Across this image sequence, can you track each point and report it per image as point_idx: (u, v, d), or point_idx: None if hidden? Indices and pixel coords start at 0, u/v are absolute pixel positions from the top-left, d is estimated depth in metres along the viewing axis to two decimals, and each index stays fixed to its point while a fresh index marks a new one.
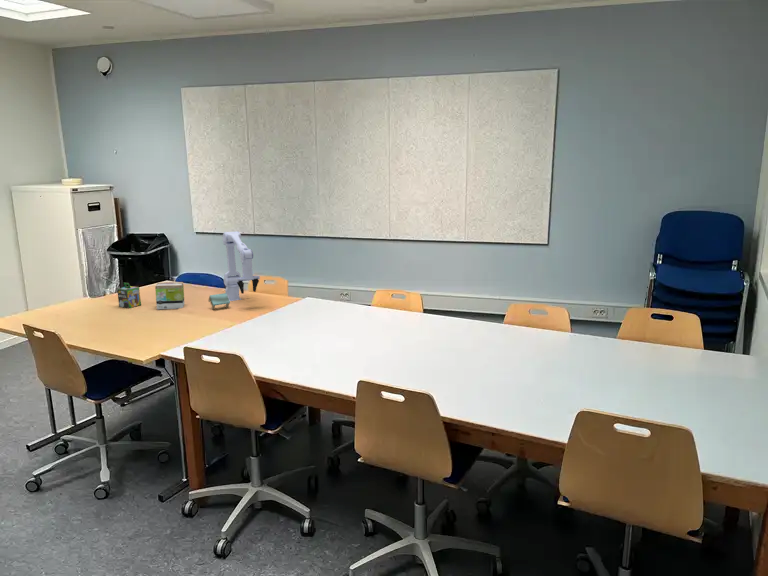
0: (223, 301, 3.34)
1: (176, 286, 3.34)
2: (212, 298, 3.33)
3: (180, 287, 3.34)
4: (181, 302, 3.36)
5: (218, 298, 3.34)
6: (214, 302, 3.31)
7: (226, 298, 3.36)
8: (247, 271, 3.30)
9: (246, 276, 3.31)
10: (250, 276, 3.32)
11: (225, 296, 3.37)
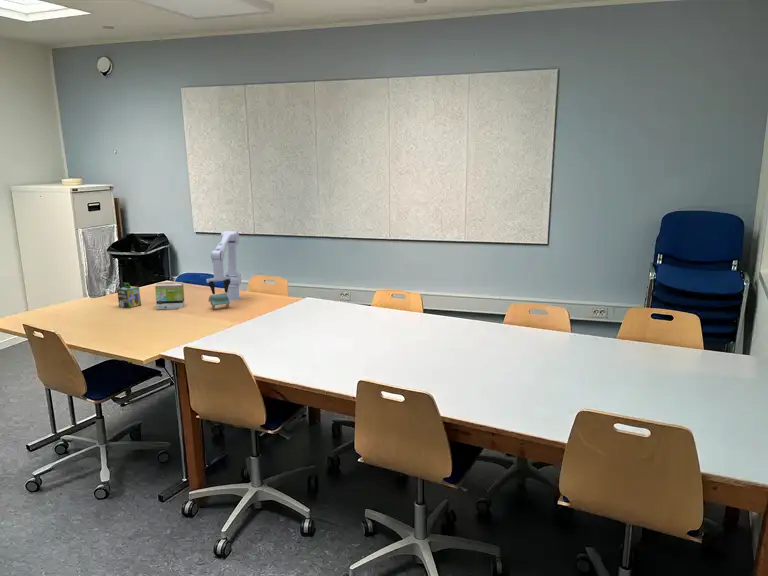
0: (223, 301, 3.34)
1: (176, 286, 3.34)
2: (212, 298, 3.33)
3: (180, 287, 3.34)
4: (181, 302, 3.36)
5: (218, 298, 3.34)
6: (214, 302, 3.31)
7: (226, 298, 3.36)
8: (218, 272, 3.29)
9: (217, 277, 3.29)
10: (221, 277, 3.30)
11: (225, 296, 3.37)
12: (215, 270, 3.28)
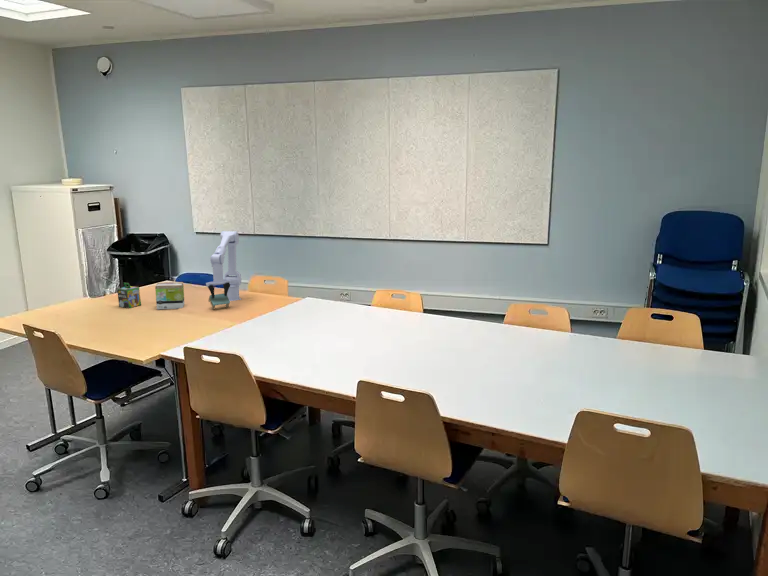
0: (223, 301, 3.34)
1: (176, 286, 3.34)
2: (212, 298, 3.33)
3: (180, 287, 3.34)
4: (181, 302, 3.36)
5: (218, 298, 3.34)
6: (214, 302, 3.31)
7: (226, 298, 3.36)
8: (218, 275, 3.29)
9: (217, 280, 3.30)
10: (221, 280, 3.31)
11: (225, 296, 3.37)
12: (215, 274, 3.29)
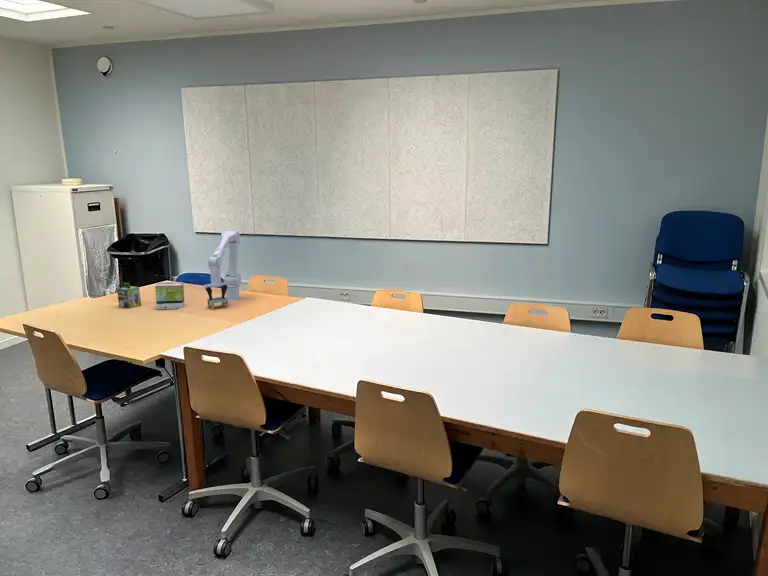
0: (221, 299, 3.37)
1: (176, 286, 3.34)
2: None
3: (180, 287, 3.34)
4: (181, 302, 3.36)
5: (216, 298, 3.38)
6: (212, 300, 3.34)
7: (223, 298, 3.39)
8: (215, 278, 3.33)
9: (214, 283, 3.33)
10: (218, 282, 3.34)
11: None
12: (212, 276, 3.33)
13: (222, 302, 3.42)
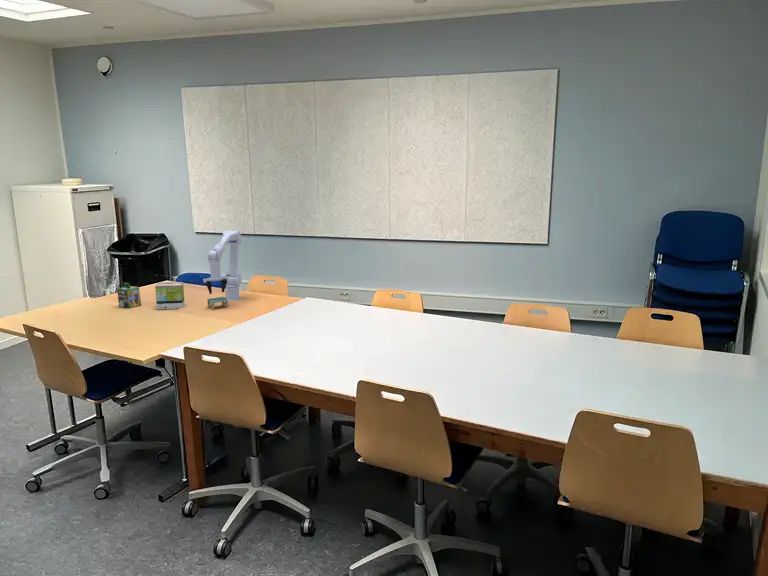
0: (221, 299, 3.37)
1: (176, 286, 3.34)
2: (210, 299, 3.36)
3: (180, 287, 3.34)
4: (181, 302, 3.36)
5: (216, 298, 3.38)
6: (212, 300, 3.34)
7: (223, 298, 3.39)
8: (215, 272, 3.32)
9: (214, 277, 3.32)
10: (218, 277, 3.33)
11: (223, 297, 3.41)
12: (211, 270, 3.32)
13: (222, 302, 3.42)
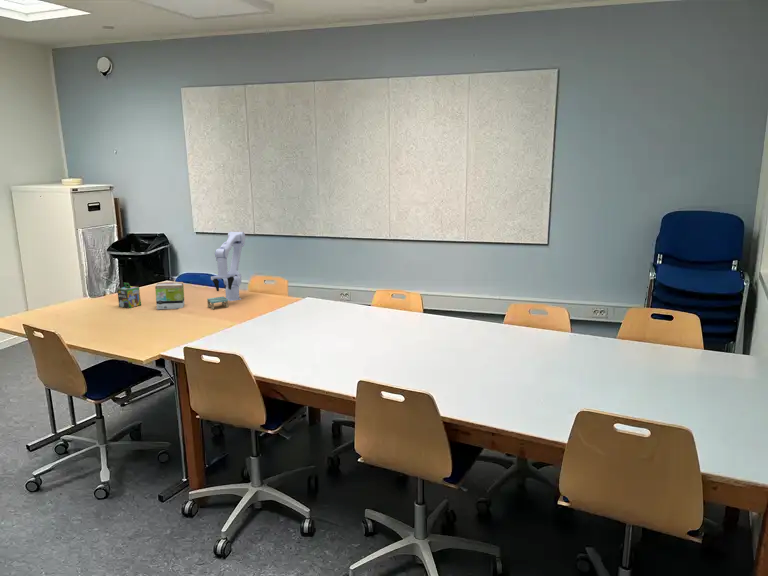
0: (221, 299, 3.37)
1: (176, 286, 3.34)
2: (210, 299, 3.36)
3: (180, 287, 3.34)
4: (181, 302, 3.36)
5: (216, 298, 3.38)
6: (212, 300, 3.34)
7: (223, 298, 3.39)
8: (222, 269, 3.39)
9: (221, 274, 3.39)
10: (225, 274, 3.40)
11: (223, 297, 3.41)
12: (219, 268, 3.39)
13: (222, 302, 3.42)
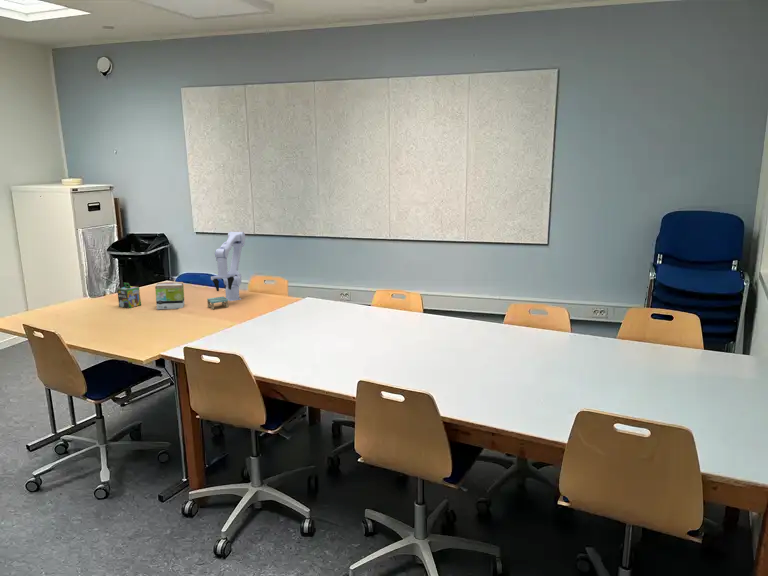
0: (221, 299, 3.37)
1: (176, 286, 3.34)
2: (210, 299, 3.36)
3: (180, 287, 3.34)
4: (181, 302, 3.36)
5: (216, 298, 3.38)
6: (212, 300, 3.34)
7: (223, 298, 3.39)
8: (222, 269, 3.39)
9: (221, 274, 3.39)
10: (225, 274, 3.40)
11: (223, 297, 3.41)
12: (219, 268, 3.39)
13: (222, 302, 3.42)
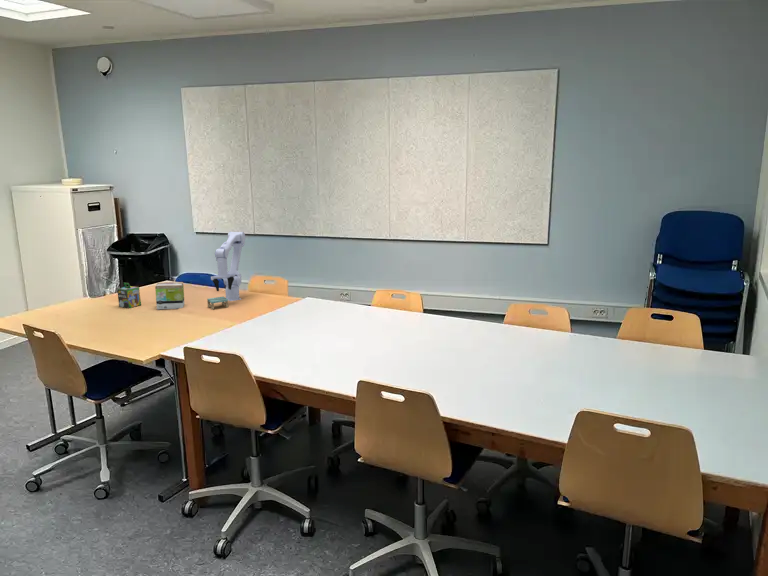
0: (221, 299, 3.37)
1: (176, 286, 3.34)
2: (210, 299, 3.36)
3: (180, 287, 3.34)
4: (181, 302, 3.36)
5: (216, 298, 3.38)
6: (212, 300, 3.34)
7: (223, 298, 3.39)
8: (222, 269, 3.39)
9: (221, 274, 3.39)
10: (225, 274, 3.40)
11: (223, 297, 3.41)
12: (219, 268, 3.39)
13: (222, 302, 3.42)
